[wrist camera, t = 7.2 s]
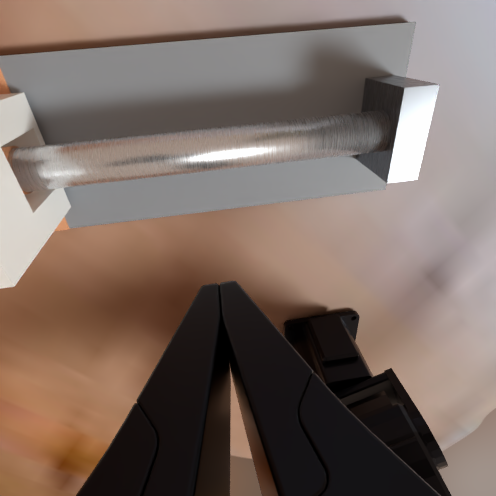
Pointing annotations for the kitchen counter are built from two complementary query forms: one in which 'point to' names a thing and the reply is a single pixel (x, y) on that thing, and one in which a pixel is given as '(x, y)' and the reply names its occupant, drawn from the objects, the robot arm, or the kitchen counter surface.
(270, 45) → the base board
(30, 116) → the collar
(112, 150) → the rail
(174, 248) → the kitchen counter surface
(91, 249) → the kitchen counter surface
